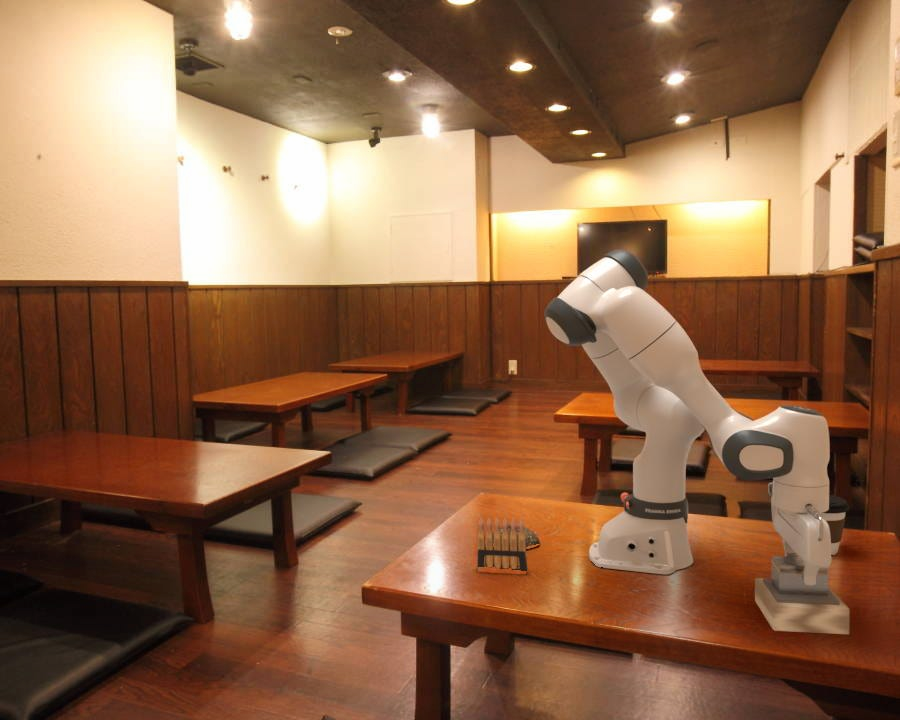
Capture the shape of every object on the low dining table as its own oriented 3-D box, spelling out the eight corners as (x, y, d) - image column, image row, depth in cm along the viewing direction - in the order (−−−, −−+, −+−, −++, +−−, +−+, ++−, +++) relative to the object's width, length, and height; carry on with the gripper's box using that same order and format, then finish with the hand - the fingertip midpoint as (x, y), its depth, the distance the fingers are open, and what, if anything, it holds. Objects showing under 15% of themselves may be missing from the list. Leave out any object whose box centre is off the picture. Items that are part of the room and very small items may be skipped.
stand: (773, 630, 117) (773, 602, 116) (754, 600, 128) (755, 575, 128) (849, 634, 115) (849, 605, 114) (823, 603, 126) (823, 577, 126)
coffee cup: (860, 558, 147) (861, 504, 146) (812, 561, 146) (813, 507, 145) (828, 541, 158) (829, 491, 157) (783, 544, 157) (784, 493, 156)
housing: (828, 595, 118) (828, 566, 118) (778, 593, 120) (779, 565, 119) (818, 585, 123) (819, 557, 122) (771, 583, 124) (771, 555, 124)
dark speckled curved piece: (546, 549, 160) (545, 528, 159) (499, 558, 155) (498, 536, 155) (520, 533, 172) (520, 513, 171) (476, 540, 167) (475, 521, 166)
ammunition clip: (477, 572, 146) (475, 518, 145) (478, 569, 148) (477, 515, 147) (526, 575, 144) (525, 520, 143) (527, 571, 146) (526, 517, 145)
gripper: (843, 515, 109) (841, 598, 110) (800, 482, 129) (799, 552, 130) (801, 514, 110) (800, 596, 111) (765, 481, 130) (764, 551, 131)
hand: (799, 572), depth 121 cm, fingers open, 8 cm apart
